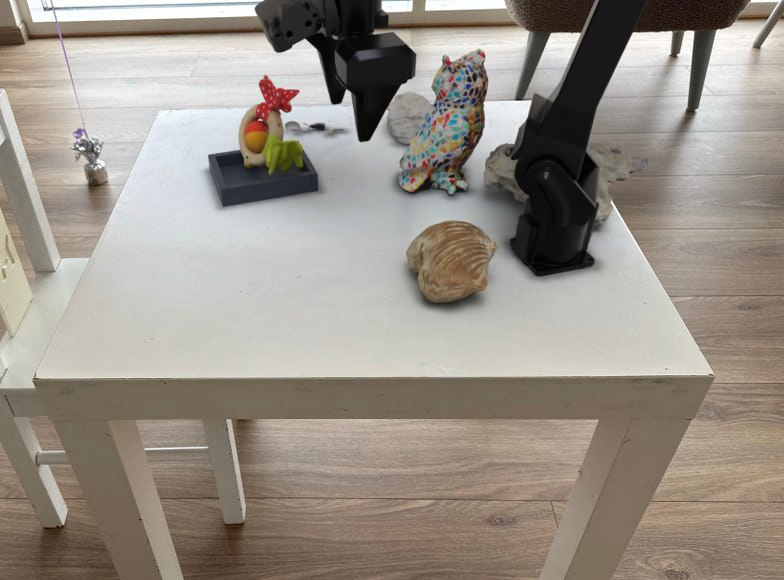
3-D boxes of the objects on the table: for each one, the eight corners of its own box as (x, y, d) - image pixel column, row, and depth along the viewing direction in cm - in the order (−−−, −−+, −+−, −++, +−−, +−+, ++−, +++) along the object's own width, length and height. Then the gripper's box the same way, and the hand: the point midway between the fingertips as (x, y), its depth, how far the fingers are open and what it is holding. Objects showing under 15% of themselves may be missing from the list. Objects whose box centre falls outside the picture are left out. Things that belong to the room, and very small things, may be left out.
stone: (413, 136, 92) (369, 92, 97) (407, 166, 96) (365, 122, 101) (475, 115, 95) (430, 73, 100) (466, 144, 99) (423, 103, 104)
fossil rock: (463, 171, 87) (514, 247, 77) (478, 126, 83) (533, 199, 73) (612, 174, 92) (678, 246, 82) (632, 132, 88) (704, 201, 78)
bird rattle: (231, 188, 89) (283, 166, 82) (208, 95, 88) (259, 66, 81) (267, 184, 93) (319, 163, 87) (245, 96, 92) (296, 69, 86)
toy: (343, 132, 98) (345, 123, 99) (284, 124, 99) (286, 116, 100) (342, 140, 99) (344, 132, 100) (283, 133, 100) (286, 125, 101)
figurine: (415, 157, 93) (423, 33, 83) (485, 169, 90) (502, 43, 80) (390, 188, 87) (396, 60, 77) (464, 203, 84) (480, 71, 74)
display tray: (299, 157, 94) (298, 140, 93) (318, 190, 88) (317, 173, 86) (210, 171, 92) (207, 154, 91) (222, 206, 86) (220, 189, 84)
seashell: (475, 263, 77) (399, 263, 76) (489, 202, 72) (408, 201, 72) (499, 315, 69) (415, 316, 69) (515, 251, 65) (426, 250, 64)
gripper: (237, -67, 69) (251, 97, 79) (285, -12, 55) (295, 177, 66) (351, -79, 71) (350, 83, 81) (424, -28, 57) (412, 158, 68)
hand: (349, 121), depth 74 cm, fingers open, 9 cm apart
